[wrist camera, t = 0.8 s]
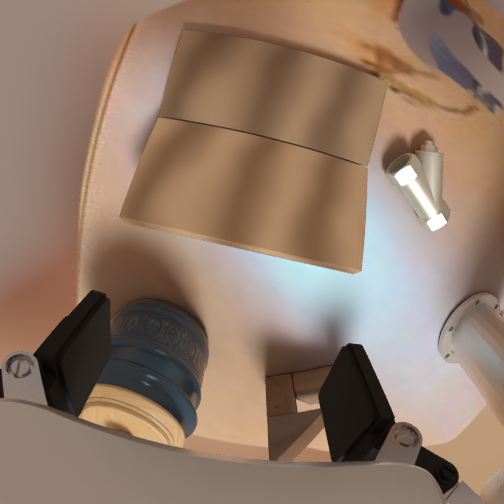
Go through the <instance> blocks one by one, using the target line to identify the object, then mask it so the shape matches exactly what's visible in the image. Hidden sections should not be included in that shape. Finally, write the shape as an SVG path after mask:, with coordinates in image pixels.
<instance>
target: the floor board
mask: <svg viewBox="0 0 504 504" xmlns="http://www.w3.org/2000/svg"><path fill="white" fill-rule="evenodd" d="M387 85H388V82H386V81H384V80H382V79H379V78H377V77H374V76H372V75H370V74H367V73H365V72H362V71H360V70H357V69H354V68H352V67H349V66H346V65H343V64H341V63H338V62H335V61H332V60H329V59H326V58H323V57H320V56H316V55H313V54H310V53H306V52H303V51H299V50H296V49H292V48H288V47H284V46H280V45H276V44H272V43H267V42H263V41H258V40H253V39H248V38H242V37H237V36H231V35H224V34H217V33H210V32H201V31H192V30H183V31H182V34H181V37H180V40H179V43H178V46H177V50H176V53H175V56H174V60H173V63H172V67H171V70H170V74H169V78H168V81H167V85H166V89H165V93H164V97H163V101H162V105H161V110H160V114H159V116H161V117H166V118H172V119H179V120H185V121H191V122H197V123H203V124H208V125H213V126H219V127H224V128H228V129H233V130H238V131H243V132H247V133H251V134H256V135H260V136H264V137H268V138H272V139H276V140H280V141H284V142H288V143H291V144H295V145H299V146H302V147H306V148H309V149H313V150H316V151H320V152H323V153H326V154H329V155H333V156H336V157H339V158H342V159H345V160H348V161H351V162H354V163H357V164H360V165H363V166H367V167H368V163H369V160H370V156H371V152H372V148H373V145H374V141H375V137H376V133H377V129H378V125H379V121H380V116H381V112H382V108H383V103H384V99H385V94H386V90H387Z"/></svg>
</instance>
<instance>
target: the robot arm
mask: <svg viewBox="0 0 504 504" xmlns="http://www.w3.org/2000/svg"><path fill="white" fill-rule="evenodd" d="M438 347H439V352H440V355H441V356H442V358H443V359H444V360H445V361H446V362H448V363H459V364H460V365H461V367H462V368H463V369H464V371H465V372H466V373H467V375H468V376H469V378H470V379H471V380H472V382H473V383H474V385H475V386H476V388H477V389H478V390H479V392H480V393H481V395H482V396H483V398H484V399H485V401H486V402H487V404H488V405H489V406H490V408H491V410H492V411H493V412H494V414H495V416H496V417H497V419H498V420H499V422H500V423H501V425H502V426H503V427H504V318H503V317H502V316H501V315H500V304H499V301H498V299H497V298H496V297H495V296H493V295H492V294H491V293H487V292H481V293H478V294H475V295H473V296H471V297H470V298H468V299H467V300H465V301H464V302H463V303H462V304H461V305H460V306H459V307H458V308H457V309H456V310H455V311H454V312H453V313H452V315H451V316H450V318H449V319H448V320H447V322H446V324H445V326H444V328H443V330H442V332H441V335H440V339H439V345H438ZM111 353H112V345H111V325H110V300H109V298H106V294H105V293H101V292H98V291H94V290H91V291H90V292H89V293H88V294H87V295H86V297H85V298H84V299H83V300H82V301H81V302H80V303H79V304H78V305H77V307H76V308H75V309H74V310H73V311H72V312H71V313H70V314H69V316H66V317H65V318H64V319H63V320H62V321H61V322H60V323H59V324H58V326H57V327H56V328H55V329H54V330H53V331H52V332H51V334H50V335H49V336H48V337H47V339H46V340H45V341H44V342H43V343H42V344H41V346H40V347H39V348H38V349H37V351H36V352H35V353H34V354H33V355H32V354H30V353H28V352H24V351H17V352H13V353H11V354H9V355H8V356H7V357H6V358H5V359H4V360H3V363H2V369H0V504H504V466H503V467H502V468H500V469H499V470H498V471H497V472H496V473H495V474H493V476H491V477H490V478H489V479H488V480H487V481H486V482H485V484H484V485H483V487H482V489H481V491H480V494H479V496H478V495H477V494H476V493H475V492H474V491H473V490H472V489H471V488H470V487H468V485H467V484H466V483H464V482H463V481H461V482H460V483H459V482H458V479H459V475H458V471H457V469H456V468H455V466H454V465H453V464H451V463H450V462H448V461H446V460H445V459H443V458H441V457H439V456H438V455H436V454H434V453H432V452H430V451H429V450H427V449H426V448H424V447H422V446H421V445H422V435H421V433H420V432H419V430H418V429H417V428H416V427H415V426H413V425H412V424H409V423H407V422H398V423H395V420H394V418H395V416H394V414H393V412H392V409H391V407H390V405H389V403H388V400H387V398H386V396H385V393H384V391H383V389H382V387H381V384H380V382H379V380H378V378H377V376H376V373H375V371H374V369H373V367H372V365H371V363H370V360H369V358H368V356H367V354H366V352H365V350H364V348H363V346H362V345H360V344H352V343H348V344H347V345H346V346H343V347H342V348H341V350H340V352H339V354H338V356H337V358H336V360H335V362H334V364H333V366H332V368H331V370H330V372H329V374H328V376H327V378H326V380H325V381H324V383H323V385H322V387H321V389H320V391H319V395H318V399H319V404H320V408H321V413H322V417H323V422H324V427H325V431H326V436H327V441H328V445H329V450H330V455H331V459H332V462H288V461H271V460H258V459H248V458H240V457H232V456H224V455H218V454H211V453H205V452H200V451H195V450H189V449H185V448H180V447H175V446H171V445H166V444H162V443H158V442H154V441H150V440H147V439H143V438H139V437H136V436H132V435H129V434H126V433H122V432H119V431H116V430H113V429H110V428H107V427H104V426H101V425H98V424H95V423H92V422H90V421H87V420H84V419H81V418H79V416H80V414H81V412H82V410H83V408H84V406H85V404H86V402H87V400H88V398H89V396H90V394H91V393H92V391H93V389H94V387H95V385H96V383H97V381H98V379H99V377H100V376H101V374H102V372H103V370H104V368H105V366H106V365H107V363H108V361H109V359H110V357H111Z"/></svg>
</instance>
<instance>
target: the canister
mask: <svg viewBox="0 0 504 504" xmlns="http://www.w3.org/2000/svg"><path fill="white" fill-rule="evenodd" d="M110 325H111V345H112V353H111V357H110V359H109V361H108V363H107V365H106V366H105V368H104V370H103V372H102V374H101V376H100V377H99V379H98V381H97V383H96V385H95V387H94V389H93V391H92V393H91V394H90V396H89V398H88V400H87V402H86V404H85V406H84V408H83V410H82V412H81V414H80V416H79V418H81V419H84V420H87V421H90V422H92V423H95V424H98V425H101V426H104V427H107V428H110V429H113V430H116V431H119V432H122V433H126V434H129V435H132V436H136V437H139V438H143V439H147V440H150V441H154V442H158V443H162V444H166V445H171V446H175V447H180V448H182V446H183V445H184V442H185V438H187V437H188V436H190V435H191V434H192V433H193V432H194V430H195V428H196V426H197V413H196V410H197V408H198V406H199V404H200V401H201V387H202V381H203V376H204V371H205V369H206V367H207V363H208V356H209V351H208V343H207V338H206V335H205V333H204V331H203V329H202V327H201V326H200V324H199V323H198V322H197V320H196V319H195V318H194V317H193V316H192V315H190V314H189V313H188V312H187V311H185V310H184V309H182V308H181V307H179V306H177V305H175V304H172V303H170V302H167V301H163V300H159V299H140V300H136V301H133V302H131V303H129V304H127V305H126V306H125V307H123V308H122V309H121V310H119V311H118V312H117V313H116V314H115V316H114V317H113V318H112V320H111V321H110Z"/></svg>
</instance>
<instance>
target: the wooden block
mask: <svg viewBox="0 0 504 504" xmlns="http://www.w3.org/2000/svg"><path fill="white" fill-rule="evenodd" d="M332 366H333V365H331V366H326V367H321V368H317V369H312V370H307V371H301V372H296V373H292V375H291V374H283V375H277V376H271V377H266V379H265V384H266V405H267V424H268V446H269V460H271V461H288V462H292V461H293V460H294V459H295V458H296V457H297V456H298V455H299V454H300V453H301V452H302V451H303V449H305V448H306V447H307V445H308V444H309V443H310V442H311V441H312V440H313V439H314V438H315V437H316V436H317V435H318V433H319V432H320V431H321V430H322V429H323V428H324V422H323V417H322V413H321V408H320V409H315V410H310V411H304V412H299V413H298V412H297V405H296V399H297V400H300V401H302V402H305V403H307V404H317V403H319V399H318V395H319V391H320V389H321V387H322V385H323V383H324V381H325V380H326V378H327V376H328V374H329V372H330V370H331V368H332Z"/></svg>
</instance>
